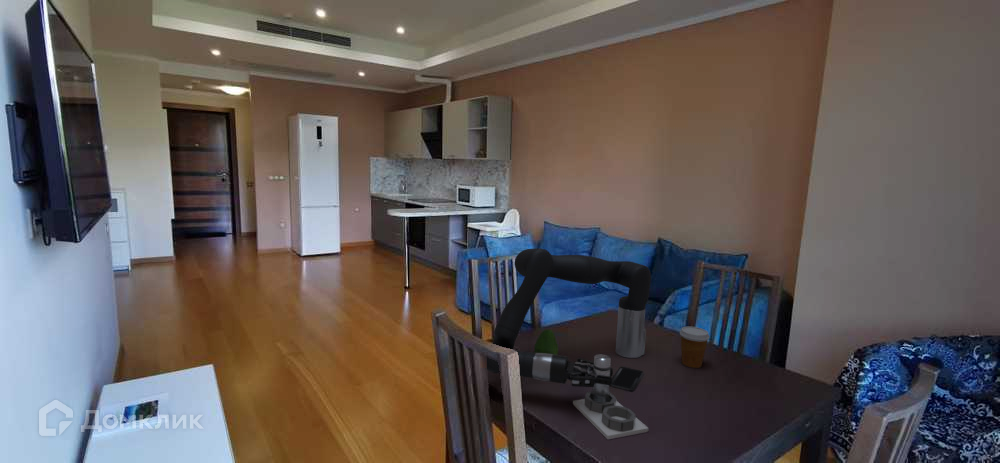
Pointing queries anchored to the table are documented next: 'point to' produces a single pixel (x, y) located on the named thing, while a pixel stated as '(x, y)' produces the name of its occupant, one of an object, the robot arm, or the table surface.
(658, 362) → the table surface
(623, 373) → the phone
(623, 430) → the hex nut holder
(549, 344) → the avocado
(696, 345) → the disposable coffee cup
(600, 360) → the tube
